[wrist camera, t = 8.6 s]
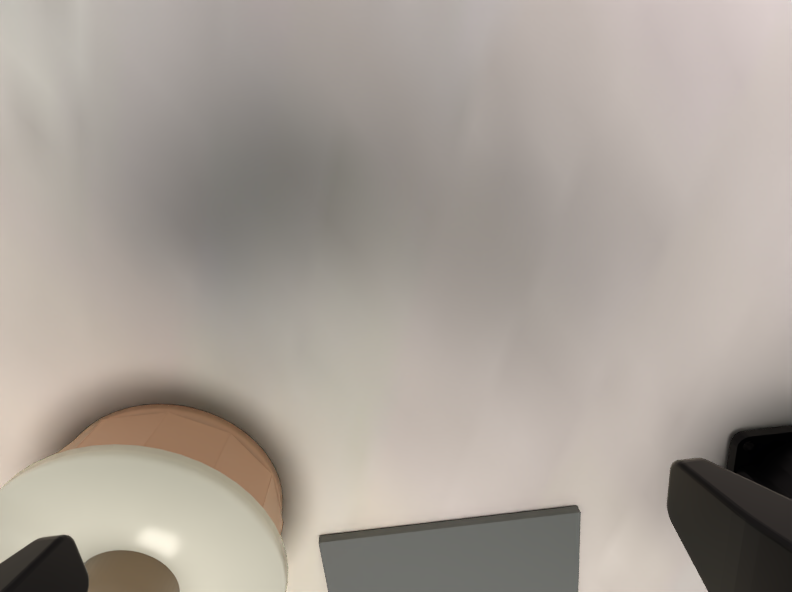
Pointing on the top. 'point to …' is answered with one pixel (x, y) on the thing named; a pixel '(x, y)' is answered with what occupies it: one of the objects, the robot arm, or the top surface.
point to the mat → (460, 555)
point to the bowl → (193, 446)
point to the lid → (146, 521)
